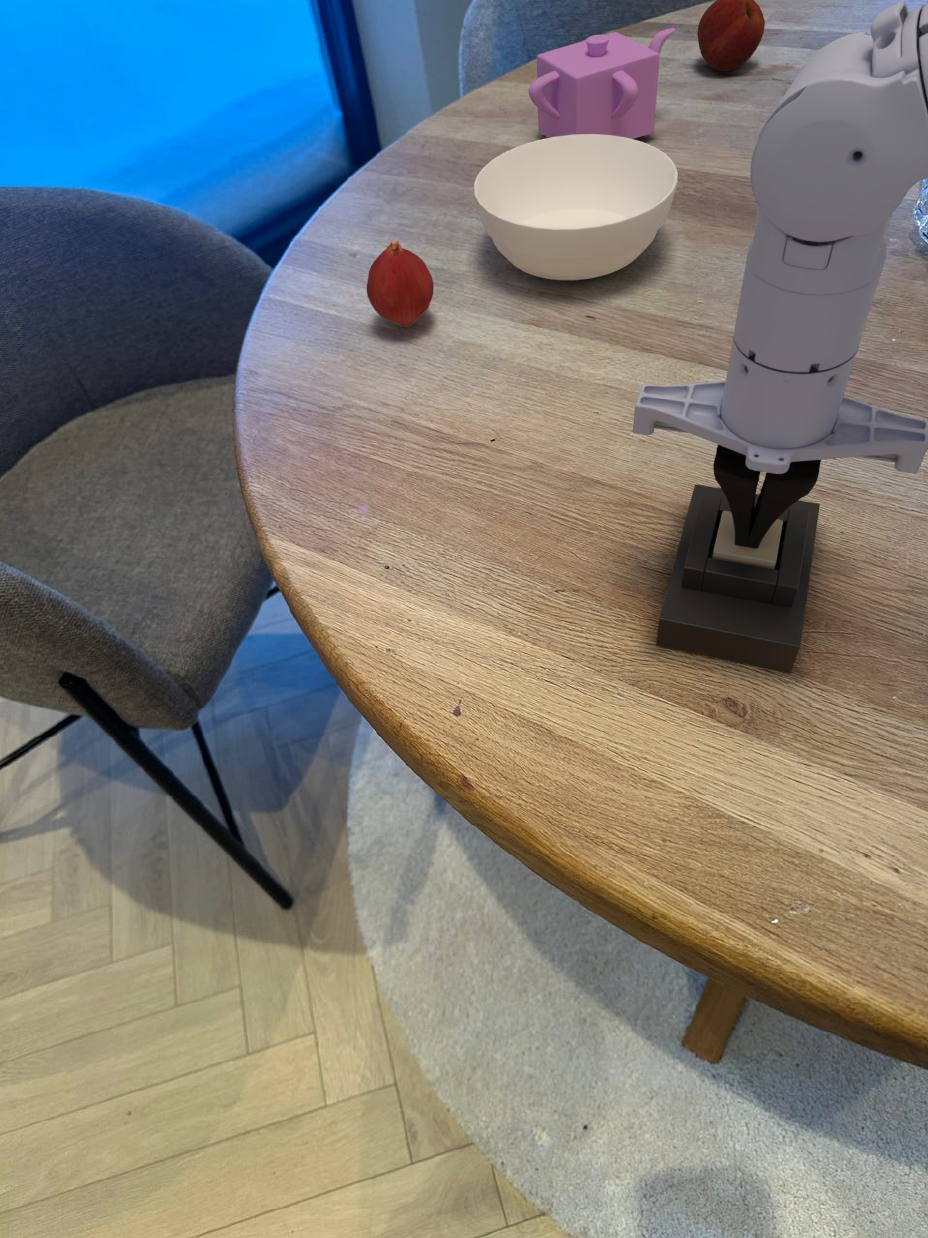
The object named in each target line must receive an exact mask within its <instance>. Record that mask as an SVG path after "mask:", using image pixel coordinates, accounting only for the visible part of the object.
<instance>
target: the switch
mask: <svg viewBox="0 0 928 1238" xmlns="http://www.w3.org/2000/svg"><path fill="white" fill-rule="evenodd" d="M782 525H783V520H778V519H777V520H776V521H775V522H774V523H773V525H772V526H771V527H770V529H769V530H768V531H767V533H766V534H765V536H764V537H763V539H762V541H761V543H760V545H759V548H757V549H754V548H749V547H743V546H737V545H735V544H734V542H735V530H734V523H733V518H732V513H731V512H729V511H723V512H722V516H721V521H720V525H719V529H718V534H717V538H716V542H715V547H714V551H713V556H712V558H714V559H720V560H725V561H731V562H736V563H742V564H748V565H753V566H759V567H764V568H770V569H774V568H775V564H776V560H777V554H778V548H779V542H780V536H781V530H782Z"/></svg>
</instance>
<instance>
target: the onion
mask: <svg viewBox="0 0 928 1238" xmlns="http://www.w3.org/2000/svg"><path fill="white" fill-rule="evenodd" d="M434 287H435V285H434V280H433V276H432V273H430V270H429V268H428V266H427V264H426V263H425V262H424V260H423V259H422V258H421V257H419V255H417V254H415V253H414V252H413V251H411V250H409V249H407V248H403V247H402V246H401V245H400V242H399V240H392V241H390V243H389V245H387V247H386V248H385V249H384V250H383V251H382V252H381V253H380V254H379V255H378V256H377V257H376V259H375V260H374V261H373V263H372V264H371V265H370V268H369V271H368V276H367V283H366V295H367V298H368V300H369V303H370V305H371V306H372V308H373V309H374V311H375V312H376V313H377V315H379V316H380V317H382V318H383V319H385V320H387V321H389V322H390V323H393V324H396V325H397V326H401V327H403V328H410V327H411V326H412V325H414V324H415V323H416V321H417V320H419V319H420V318H421V317H422V316H423V315H424V314H425V312H426V311H427V310H428V309H429V308H430V304H431V302H432V299H433V296H434Z"/></svg>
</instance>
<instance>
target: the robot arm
mask: <svg viewBox="0 0 928 1238" xmlns="http://www.w3.org/2000/svg"><path fill="white" fill-rule="evenodd" d="M907 5H908V4H907V3H906V1H905V0H900V1H898V2H896V3H895V4H892V5H891V6H889V7H887V8H886V9H884V10H882V11H880V12H879V13H877V14H876V16H875V18H874V20H873V21H872V22H871V24H870V30H869V32H870V34H868V30H863V31H857V32H853V33H849V34H845V35H843V36H840V37H839V38H836V39H834V40H832V41H831V42H829V43H828V44H825V45H824V46H823V47H821V48H820V49H819V50H817V51H816V52H815V53H814V54H813V55H812V56H811V57H810V58H808V60H807V61H806V62H805V63H804V64H803V66H802V67H801V69H800V70H799V71H798V73H797V75H796V76H795V78H794V79H793V80H792V81H791V83H790V85H789V87H788V88H787V90H786V91H785V93H784V94H783V96H782V97H781V99H780V100H779V102H777V103H778V104H777V105H776V106H775V108H774V109H773V111H772V112H771V114H770V115H769V116H768V117H767V120H766V121H765V123H764V125H763V127H762V129H761V131H760V134H759V136H758V138H757V141H756V144H755V146H754V149H753V151H752V152H753V153H752V156H751V162H750V186H751V190H752V195H753V197H754V200H755V202H756V204H757V208H756V214H755V215H756V217H755V219H756V220H755V221H756V222H755V226H754V228H755V229H754V234H753V236H752V237H751V238H750V242H749V244H748V249H747V254H746V261H745V266H744V273H743V277H742V284H741V290H740V296H739V301H738V307H737V313H736V318H735V323H734V324H735V325H734V330H733V337H732V342H731V343H732V344H731V348H730V354H729V360H728V366H727V371H726V376H725V377H726V378H725V380H718V381H707V382H696V383H695V382H694V383H683V384H650V383H649V384H648V383H643V384H642V385H641V387H640V389H639V392H638V395H637V398H636V401H635V403H634V411H633V412H634V413H633V426H632V433H633V434H637V435H645V436H650V435H651V436H652V435H653V434H654V432H655V429H656V430H663V431H670V432H678V433H684V434H691V435H692V436H696V437H698V438H700V439H703V440H706V441H708V442H711V443H713V444H715V445H717V446H716V451H715V455H714V459H713V466H712V467H713V475H714V480H715V482H717V484H718V486H719V488H721V489H722V490H723V492H724V494H725V496H726V499H727V501H728V504H729V506H730V510H731V513H732V518H733V523H734V530H735V542H734V544H735V545H737V546H743V547H749V548H754V549H757V548H759V545H760V543H761V541H762V539H763V537H764V536H765V534H766V533H767V531H768V530H769V529H770V527H771V526H772V525H773V523H774V522H775V521H776V520H777V519H778V518H779V516H780V515H781V514H782V513H783V512H784V511H786V510H787V509H788V508H789V507H790V506H791V505H793V504H794V503H795V502H797V501H798V500H799V501H800V500H801V499H803V498H804V497H806V496H808V495H809V494H810V493H811V491H812V490H813V489H814V487H815V485H816V483H817V482H818V478H819V475H820V470H821V463H822V461H823V460H835V459H846V458H863V459H870V460H875V461H884V462H889V463H894V466H893V467H894V469H895V470H896V471H897V472H901V473H909V474H918V473H919V470H920V469H921V467H922V466H921V465H922V463H923V461H924V458H925V457H926V454H927V451H928V419H925V418H918V417H912V416H908V415H903V414H900V413H896V412H893V411H890V410H887V409H884V408H880V407H878V406H875V405H872V404H869V403H866V402H864V401H861V400H858V399H854V398H852V397H849V396H847V395H845V393H846V390H847V386H848V383H849V380H850V378H851V374H852V370H853V367H854V363H855V361H856V356H857V355H858V351H859V347H860V344H861V341H862V338H863V334H864V331H865V328H866V323H867V321H868V319H869V314H870V311H871V308H872V305H873V302H874V298H875V294H876V292H877V290H878V289H877V288H878V285H879V283H880V279H881V276H882V272H883V268H884V265H885V262H886V260H887V248H888V247H887V234H888V230H889V226H890V224H891V220H892V217H893V214H894V213H895V212H896V210H897V209H898V208H899V206H900V204H902V202H903V200H904V198H905V197H906V195H907V193H908V192H909V191H910V190H911V188H912V187H914V186H915V185H916V184H918V183H920V182H921V181H923V180H927V179H928V1H927V2H925V3H924V4H923V3H922V4H921V5H919V6H918V7H916V8H914V9H912V10H911V11H909V8H908V6H907ZM762 472H763V473H765V476H764V480H763V483H762V484H761V485H762V486H761V488H760V491H759V493H758V494H759V497H758V499H757V502H756V505H755V498H756V494H757V489H758V486H759V481H760V475H761V473H762ZM754 506H755V508H754Z"/></svg>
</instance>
